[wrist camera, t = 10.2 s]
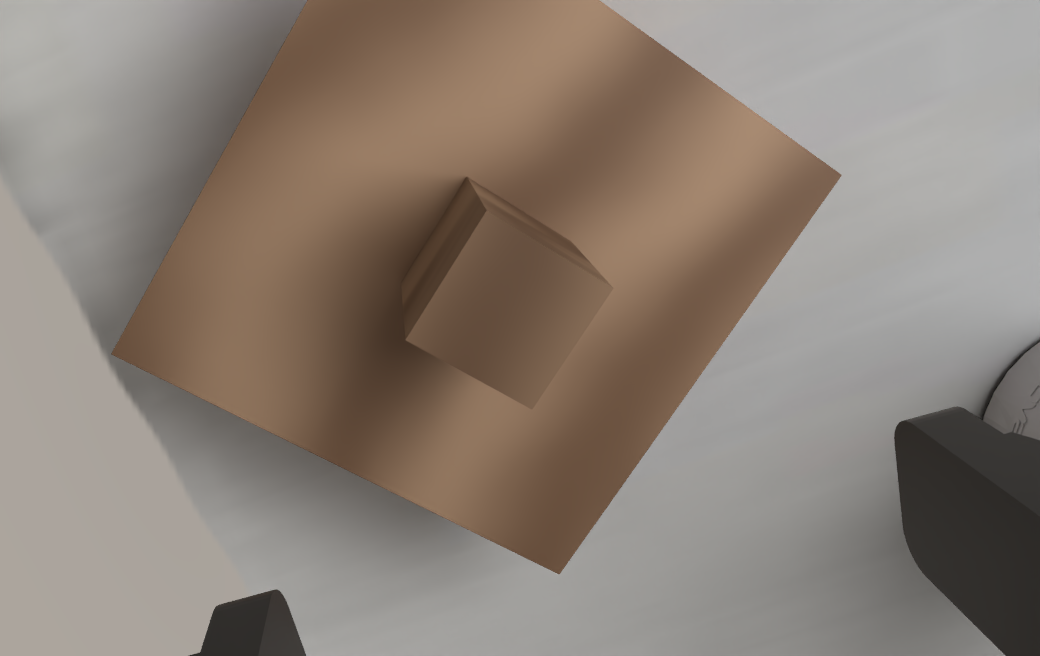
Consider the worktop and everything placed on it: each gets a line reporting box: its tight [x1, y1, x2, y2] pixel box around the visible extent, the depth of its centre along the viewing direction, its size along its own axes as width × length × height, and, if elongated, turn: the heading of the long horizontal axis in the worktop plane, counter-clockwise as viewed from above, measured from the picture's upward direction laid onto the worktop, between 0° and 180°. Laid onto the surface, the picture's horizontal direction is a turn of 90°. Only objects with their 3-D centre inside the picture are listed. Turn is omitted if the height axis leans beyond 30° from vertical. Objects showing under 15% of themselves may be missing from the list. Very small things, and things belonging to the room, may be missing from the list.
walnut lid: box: [111, 0, 841, 574], centre depth 24 cm, size 15×15×6 cm
